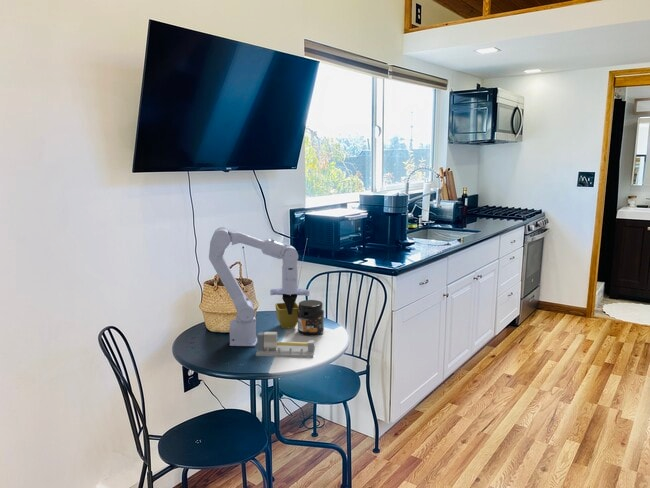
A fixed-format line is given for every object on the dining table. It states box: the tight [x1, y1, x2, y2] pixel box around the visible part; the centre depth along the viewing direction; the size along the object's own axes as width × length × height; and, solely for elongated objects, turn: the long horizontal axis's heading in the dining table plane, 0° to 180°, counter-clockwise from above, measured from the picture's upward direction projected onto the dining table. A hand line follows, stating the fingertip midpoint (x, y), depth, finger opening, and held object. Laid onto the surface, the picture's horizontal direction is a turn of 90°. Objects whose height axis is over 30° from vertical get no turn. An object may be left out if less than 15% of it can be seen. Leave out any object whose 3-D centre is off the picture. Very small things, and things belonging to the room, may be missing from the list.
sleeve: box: [264, 331, 279, 350], centre depth 175 cm, size 4×3×6 cm
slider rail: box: [255, 331, 316, 358], centre depth 175 cm, size 20×9×6 cm, turn 87°
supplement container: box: [297, 299, 325, 337], centre depth 194 cm, size 10×10×12 cm
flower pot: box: [275, 301, 299, 329], centre depth 201 cm, size 9×9×9 cm
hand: (290, 313), depth 185 cm, fingers closed
